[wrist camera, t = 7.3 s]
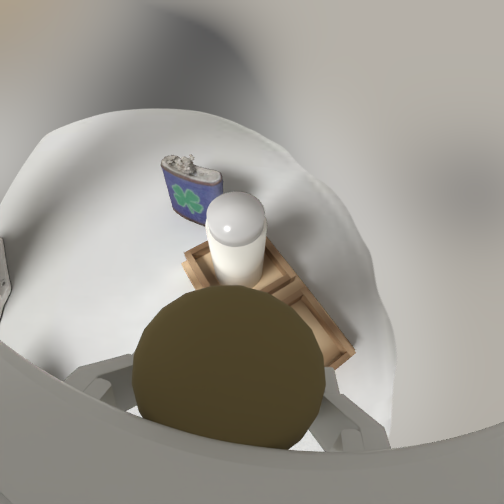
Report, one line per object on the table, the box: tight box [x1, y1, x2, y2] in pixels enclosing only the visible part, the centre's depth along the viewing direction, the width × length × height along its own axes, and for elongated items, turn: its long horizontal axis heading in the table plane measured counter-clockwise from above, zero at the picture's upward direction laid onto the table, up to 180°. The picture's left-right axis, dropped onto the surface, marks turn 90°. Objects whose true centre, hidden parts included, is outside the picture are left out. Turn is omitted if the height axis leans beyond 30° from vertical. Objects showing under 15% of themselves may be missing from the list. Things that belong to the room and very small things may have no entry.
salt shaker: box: [205, 191, 267, 288], centre depth 28 cm, size 6×6×11 cm
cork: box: [132, 285, 326, 450], centre depth 10 cm, size 6×6×11 cm
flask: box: [161, 155, 223, 226], centre depth 34 cm, size 9×3×11 cm, turn 61°
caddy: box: [181, 236, 356, 370], centre depth 30 cm, size 20×11×3 cm, turn 33°
